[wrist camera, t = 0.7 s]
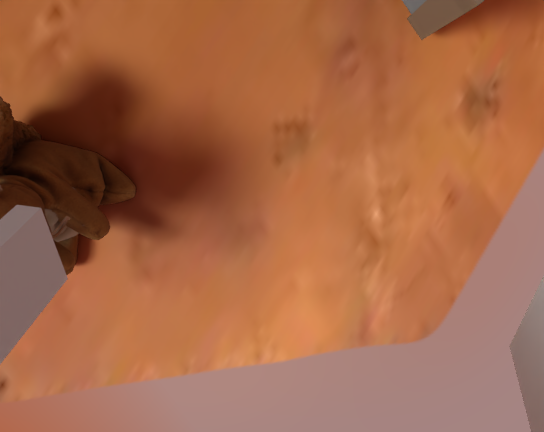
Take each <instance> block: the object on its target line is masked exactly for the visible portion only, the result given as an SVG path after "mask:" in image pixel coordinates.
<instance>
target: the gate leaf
mask: <svg viewBox="0 0 544 432" xmlns="http://www.w3.org/2000/svg"><path fill="white" fill-rule="evenodd" d="M402 1H403V2H404V4H405V5H406V7H407V8H408V10H409V11H410V13H411V15H410V16H409V17H408V18H407V19H408V21H409V22H410V24H411V25H412V27H413V28H414V30H415V31H416V33H417V34H418V35H419V37H420V38H421V40H423V39H424V38H426V37H427V36H429V35H431V34H432V33H434V32H436V31H437V30H439V29H440V28H442V27H444V26H445V25H447V24H449V23H450V22H452V21H453V20H455V19H457V18H458V17H460V16H462V15H463V14H465V13H467V12H468V11H470V10H471V9H473V8H475V7H476V6H478V5H479V4H480V3H482V2H483V1H484V0H402Z"/></svg>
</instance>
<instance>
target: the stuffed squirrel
mask: <svg viewBox="0 0 544 432" xmlns="http://www.w3.org/2000/svg"><path fill="white" fill-rule="evenodd" d="M11 113H12V110H11V109H10V104H9V103H8V104H7V103H6V102H4V101H3V99H2V98H1V97H0V219H1V218H3V217H4V216H5V215H6V214H7V213H8V212H9V211H10V210H11V209H13V208H14V207H15V206H16V205H23V206H31V207H39V208H41V209H42V211H43V214H44V217H45V219H46V222H47V225H48V227H49V230H50V233H51V235H52V238H53V241H54V243H55V246H56V249H57V251H58V254H59V257H60V259H61V262H62V265H63V267H64V270H65V273H66V275H68V274H69V273H71V272H72V271H73V268H74V266H75V264H76V261H77V251H78V249H77V247H78V234H79V233H80V234H81V235H83V236H86V237H87V238H90V239H94V240H99V239H101V238H103V237H104V236H105V235H106V234H107V233H108V232H109V229H110V225H109V221H108V220H107V218H106V216H105V215H104V214H103V213H102V212H101V211H100V210H99V209H98V208H97V207H98V206H99V205H106V204H114V203H119V202H123V201H126V200H128V199H131V198H133V197H134V196H135V194H136V187H135V185H134V183H133V182H132V181H131V180H130V179H129V178H128V177H127V176H126V175H125V174H124V173H123V172H122V171H120V170H119V169H118V168H117V167H116V166H114V165H113V164H112V163H110V162H109V161H108V160H107V159H105V158H104V157H102V156H101V155H99V154H98V153H95V152H93V151H89V150H85V149H81V148H77V147H73V146H69V145H65V144H60V143H55V142H50V141H43V140H41V136H40V134H39V133H37V131H36V130H35V128H33V126H32V125H31V126H26V124H25V123H22V122H19V121H15V120H14V117H13V116H12V114H11Z"/></svg>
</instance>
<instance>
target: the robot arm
mask: <svg viewBox="0 0 544 432" xmlns="http://www.w3.org/2000/svg"><path fill="white" fill-rule="evenodd" d="M67 279H68V278H67V275H66V273H65V270H64V267H63V265H62V262H61V259H60V257H59V254H58V251H57V249H56V246H55V243H54V241H53V238H52V235H51V233H50V230H49V227H48V225H47V222H46V219H45V217H44V214H43V211H42V209H41V208H39V207H31V206H23V205H16V206H15V207H14V208H13V209H11V210H10V211H9V212H8V213H7V214H6V215H5V216H4V217H3V218H1V219H0V364H1V363H2V361H3V360H4V359H5V358H6V356H7V355H8V354H9V352H10V351H11V350H12V349H13V347H14V346H15V345H16V344H17V342H18V341H19V340H20V338H21V337H22V336H23V335H24V333H25V332H26V331H27V330H28V328H29V327H30V326H31V325H32V323H33V322H34V321H35V319H36V318H37V317H38V316H39V314H40V313H41V312H42V311H43V309H44V308H45V307H46V305H47V304H48V303H49V302H50V300H51V299H52V298H53V297H54V295H55V294H56V293H57V292H58V290H59V289H60V288H61V286H62V285H63V284H64V283H65V281H66V280H67ZM510 350H511V354H512V357H513V362H514V365H515V370H516V374H517V377H518V381H519V385H520V389H521V393H522V397H523V401H524V405H525V409H526V413H527V417H528V421H529V425H530V429H531V432H544V276H543V279H542V281H541V283H540V285H539V287H538V289H537V291H536V293H535V295H534V297H533V299H532V301H531V303H530V305H529V307H528V309H527V312H526V313H525V316H524V318H523V320H522V322H521V324H520V326H519V328H518V330H517V332H516V334H515V336H514V338H513V340H512V342H511V344H510Z"/></svg>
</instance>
